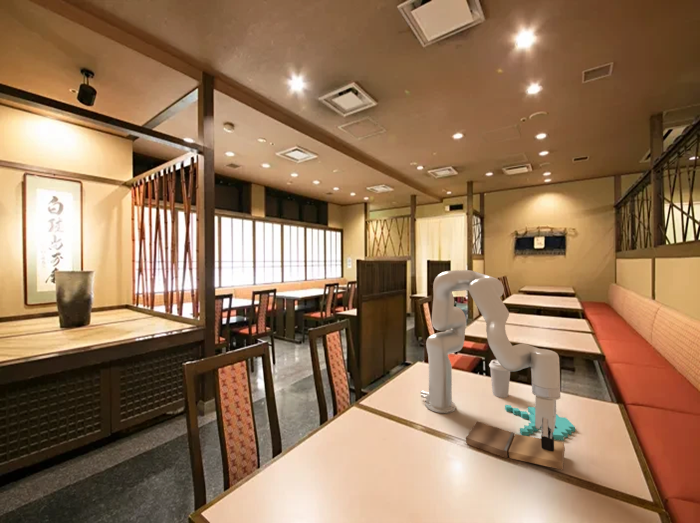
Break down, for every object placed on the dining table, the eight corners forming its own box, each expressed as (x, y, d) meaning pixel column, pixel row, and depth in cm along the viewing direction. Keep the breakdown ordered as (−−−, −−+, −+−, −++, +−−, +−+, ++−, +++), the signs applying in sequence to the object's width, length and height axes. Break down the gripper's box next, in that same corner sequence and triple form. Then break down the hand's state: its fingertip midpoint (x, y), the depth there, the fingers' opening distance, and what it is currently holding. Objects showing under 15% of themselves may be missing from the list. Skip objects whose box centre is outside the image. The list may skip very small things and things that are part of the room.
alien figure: (522, 437, 108) (585, 444, 104) (522, 431, 108) (585, 437, 103) (505, 410, 127) (557, 414, 123) (505, 404, 127) (557, 409, 123)
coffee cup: (486, 389, 146) (486, 358, 146) (508, 391, 144) (508, 359, 144) (492, 398, 137) (491, 365, 137) (514, 400, 135) (514, 366, 135)
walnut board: (466, 443, 103) (466, 436, 103) (476, 426, 114) (476, 420, 114) (507, 458, 96) (507, 451, 96) (514, 439, 106) (514, 432, 106)
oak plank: (509, 457, 96) (508, 451, 96) (516, 440, 105) (515, 434, 105) (562, 469, 87) (561, 462, 87) (564, 449, 96) (563, 442, 97)
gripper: (534, 380, 103) (536, 434, 102) (528, 395, 91) (530, 456, 91) (561, 385, 98) (563, 441, 98) (558, 401, 86) (561, 466, 86)
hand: (547, 448), depth 94 cm, fingers closed
